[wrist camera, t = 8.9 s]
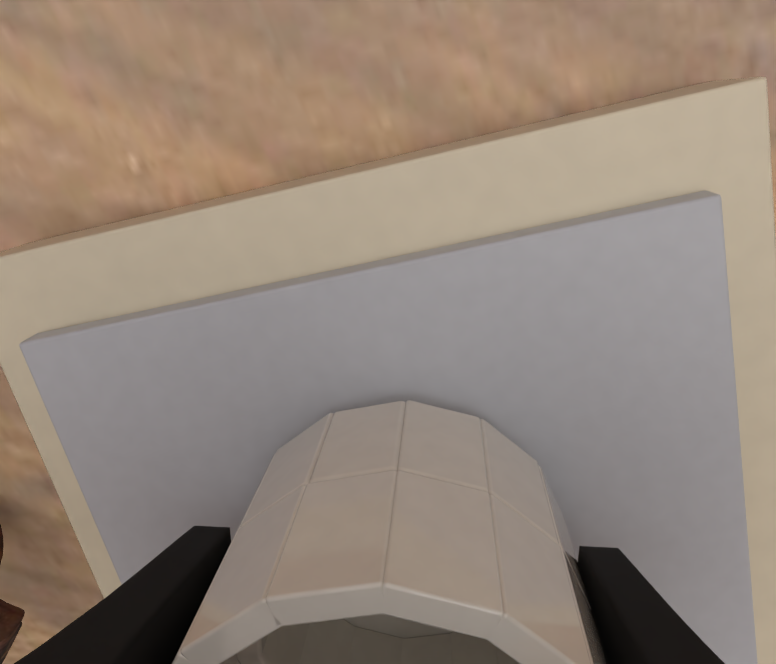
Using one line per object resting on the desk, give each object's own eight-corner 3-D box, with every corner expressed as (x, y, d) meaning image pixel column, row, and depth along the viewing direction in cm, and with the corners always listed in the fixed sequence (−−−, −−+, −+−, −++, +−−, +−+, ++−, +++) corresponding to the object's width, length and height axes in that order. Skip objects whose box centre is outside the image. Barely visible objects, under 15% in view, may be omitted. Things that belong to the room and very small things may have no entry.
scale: (214, 705, 18) (174, 808, 15) (27, 242, 14) (-70, 274, 11) (756, 642, 16) (818, 749, 13) (712, 80, 12) (788, 73, 9)
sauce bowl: (266, 639, 13) (171, 926, 9) (248, 380, 12) (115, 568, 7) (545, 657, 13) (602, 970, 8) (572, 392, 11) (667, 600, 6)
